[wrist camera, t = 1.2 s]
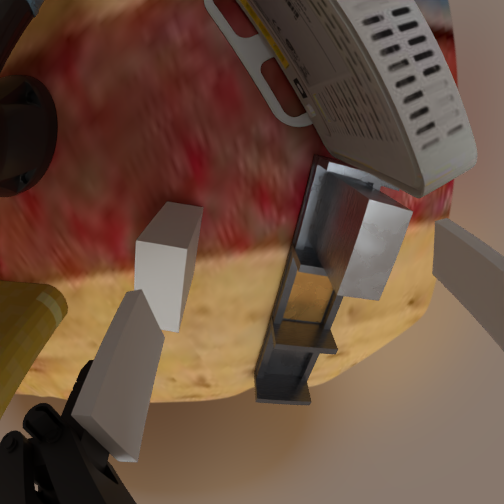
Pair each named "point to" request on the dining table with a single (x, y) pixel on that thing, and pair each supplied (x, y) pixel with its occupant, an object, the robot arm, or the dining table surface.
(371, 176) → the rack
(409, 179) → the network device
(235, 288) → the dining table surface
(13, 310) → the book
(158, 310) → the block
